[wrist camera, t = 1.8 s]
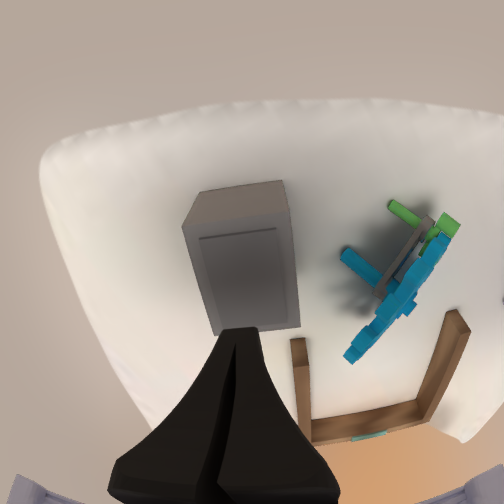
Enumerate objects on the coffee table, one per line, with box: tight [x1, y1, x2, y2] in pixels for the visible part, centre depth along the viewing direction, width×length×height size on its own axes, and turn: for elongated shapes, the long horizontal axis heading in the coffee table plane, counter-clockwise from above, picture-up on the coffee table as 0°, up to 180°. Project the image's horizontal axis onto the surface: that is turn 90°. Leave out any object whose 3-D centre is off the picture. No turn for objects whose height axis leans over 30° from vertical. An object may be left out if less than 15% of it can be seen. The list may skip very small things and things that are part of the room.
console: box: [182, 180, 301, 336], centre depth 18 cm, size 5×7×5 cm
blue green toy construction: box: [340, 200, 460, 365], centre depth 19 cm, size 11×6×10 cm
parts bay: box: [290, 309, 471, 447], centre depth 26 cm, size 15×15×3 cm
